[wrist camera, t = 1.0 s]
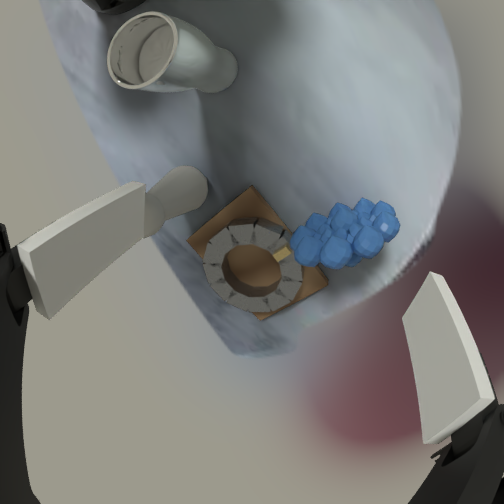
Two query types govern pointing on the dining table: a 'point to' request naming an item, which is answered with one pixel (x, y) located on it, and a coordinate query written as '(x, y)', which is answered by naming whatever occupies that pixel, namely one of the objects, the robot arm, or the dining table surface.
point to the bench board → (254, 249)
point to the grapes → (345, 235)
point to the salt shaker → (173, 197)
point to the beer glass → (168, 56)
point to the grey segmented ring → (261, 236)
